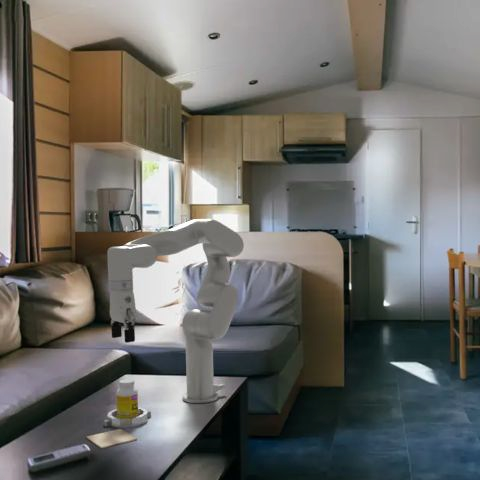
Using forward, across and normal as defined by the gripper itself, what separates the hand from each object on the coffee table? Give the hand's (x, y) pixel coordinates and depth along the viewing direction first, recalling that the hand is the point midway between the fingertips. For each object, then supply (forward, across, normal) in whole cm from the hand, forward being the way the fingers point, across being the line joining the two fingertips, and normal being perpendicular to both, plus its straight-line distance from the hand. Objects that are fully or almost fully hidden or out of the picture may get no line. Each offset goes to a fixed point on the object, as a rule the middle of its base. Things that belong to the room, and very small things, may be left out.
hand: (123, 339), depth 201 cm
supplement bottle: (+26, 0, 0) cm, 26 cm away
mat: (+26, -12, +11) cm, 31 cm away
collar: (+26, 0, 0) cm, 26 cm away
